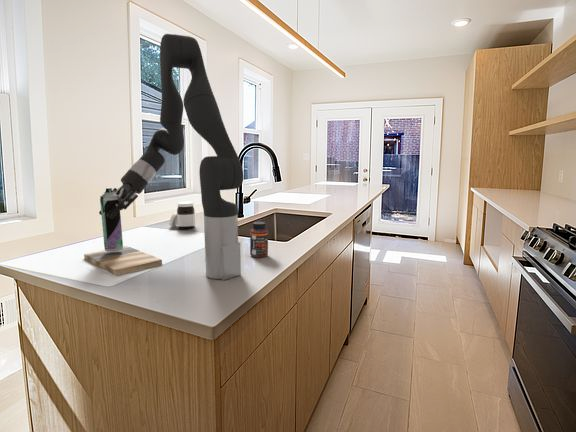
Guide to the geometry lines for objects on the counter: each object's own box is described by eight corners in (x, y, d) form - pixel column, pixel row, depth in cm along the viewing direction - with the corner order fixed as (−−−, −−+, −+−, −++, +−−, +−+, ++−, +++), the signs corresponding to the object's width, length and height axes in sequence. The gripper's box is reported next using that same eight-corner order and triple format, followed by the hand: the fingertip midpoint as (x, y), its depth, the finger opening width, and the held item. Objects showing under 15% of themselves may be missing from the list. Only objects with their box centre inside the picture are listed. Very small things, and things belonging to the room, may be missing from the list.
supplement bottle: (255, 259, 120) (255, 225, 118) (247, 255, 125) (246, 222, 123) (271, 256, 123) (271, 223, 121) (262, 252, 128) (262, 220, 126)
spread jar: (195, 230, 163) (194, 204, 161) (168, 231, 161) (166, 204, 159) (195, 224, 175) (194, 200, 173) (170, 225, 172) (169, 201, 170)
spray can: (116, 251, 118) (110, 189, 114) (100, 251, 119) (95, 188, 115) (126, 247, 123) (121, 187, 119) (112, 246, 124) (106, 187, 120)
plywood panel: (162, 264, 114) (161, 259, 114) (116, 275, 104) (115, 269, 104) (127, 250, 130) (126, 245, 130) (84, 258, 120) (84, 253, 120)
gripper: (121, 168, 126) (87, 206, 120) (141, 169, 117) (105, 211, 110) (137, 182, 131) (105, 220, 125) (157, 185, 122) (124, 226, 115)
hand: (105, 216), depth 118 cm, fingers closed on spray can, 5 cm apart
